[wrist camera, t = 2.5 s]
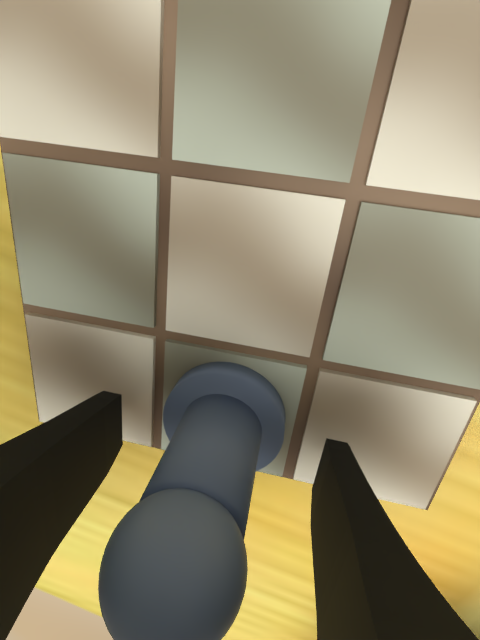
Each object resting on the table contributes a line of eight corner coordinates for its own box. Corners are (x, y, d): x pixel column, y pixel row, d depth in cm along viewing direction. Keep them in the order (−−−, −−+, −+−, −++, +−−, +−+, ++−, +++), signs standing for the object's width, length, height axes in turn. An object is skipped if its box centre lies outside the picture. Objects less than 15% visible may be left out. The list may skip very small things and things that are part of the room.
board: (419, 487, 13) (429, 515, 12) (55, 406, 15) (35, 424, 14) (652, -32, 7) (713, -67, 6) (1, -71, 9) (-42, -104, 8)
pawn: (275, 468, 13) (246, 742, 7) (169, 444, 13) (49, 680, 7) (295, 375, 11) (281, 622, 5) (173, 351, 12) (24, 551, 5)
